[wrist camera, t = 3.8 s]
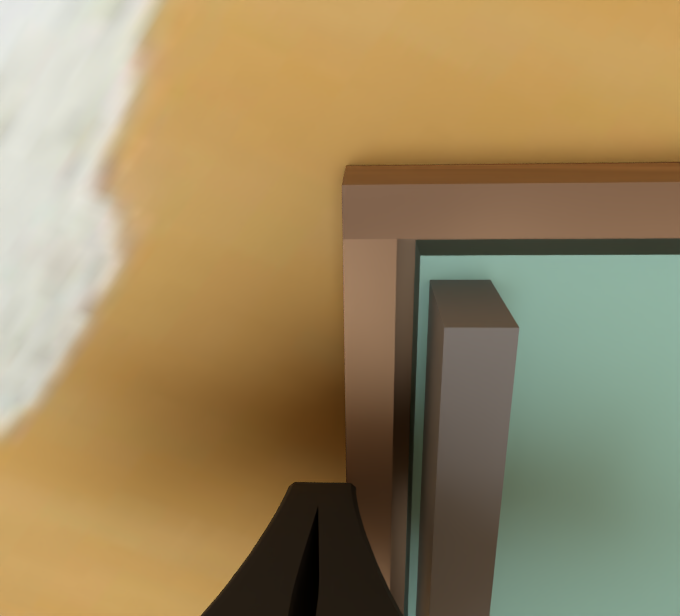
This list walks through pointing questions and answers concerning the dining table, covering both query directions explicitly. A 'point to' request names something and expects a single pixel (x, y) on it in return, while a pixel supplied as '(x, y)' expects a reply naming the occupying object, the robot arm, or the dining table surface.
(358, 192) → the walnut box
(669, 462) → the cover plate
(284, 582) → the robot arm
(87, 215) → the dining table surface
